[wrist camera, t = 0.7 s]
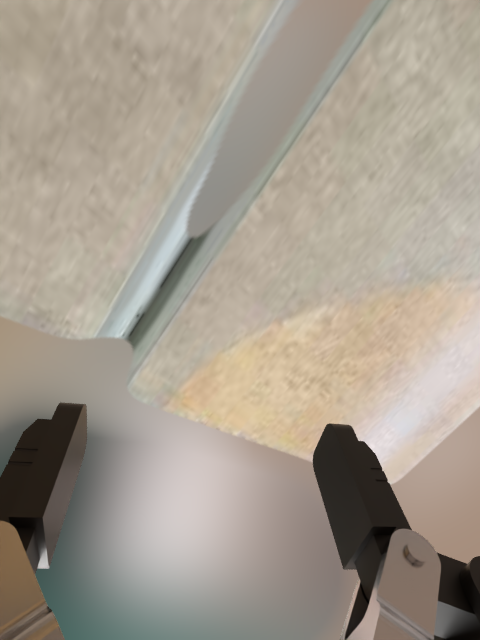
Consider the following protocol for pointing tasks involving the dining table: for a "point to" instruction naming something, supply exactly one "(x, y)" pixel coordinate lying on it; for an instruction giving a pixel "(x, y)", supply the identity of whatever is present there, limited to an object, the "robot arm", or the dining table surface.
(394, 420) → the dining table surface
